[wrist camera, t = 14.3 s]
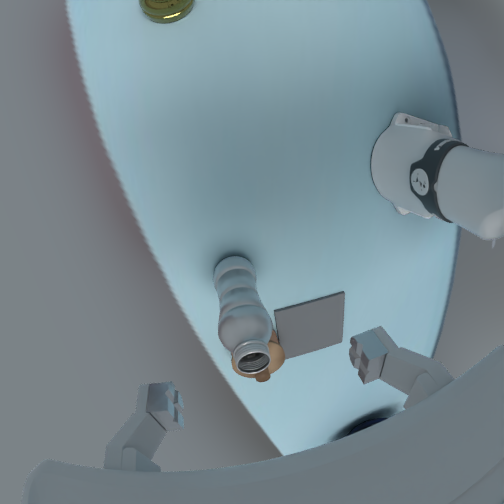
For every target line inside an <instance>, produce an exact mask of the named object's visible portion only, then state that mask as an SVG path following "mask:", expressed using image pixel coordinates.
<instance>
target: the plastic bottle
mask: <svg viewBox="0 0 504 504" xmlns="http://www.w3.org/2000/svg"><path fill="white" fill-rule="evenodd" d="M213 282H214V286H215V289H216V291H217V293H218V297H219V301H220V315H219V323H218V336H219V339H220V341H221V342H222V344H223V346H224V347H225V348H226V349H228V350H229V351H231V352H232V353H233V357H234V360H235V363H236V367H237V369H238V370H239V371H240V372H242V373H245V374H254V373H258V372H261V371H263V370H264V369H266V368H267V367H268V366H269V365H270V362H271V357H270V354H269V347H268V345H267V344H268V342H269V340H270V338H271V335H272V328H273V325H272V320H271V318H270V316H269V314H268V312H267V311H266V309H265V307H264V306H263V304H262V302H261V300H260V298H259V295H258V293H257V287H256V272H255V269H254V267H253V266H252V264H251V263H250V262H249V261H248V260H247V259H245V258H243V257H240V256H231V257H227V258H225V259H223V260H222V261H221V262H220V263H219V264H218V265H217V266H216V268H215V271H214V276H213Z"/></svg>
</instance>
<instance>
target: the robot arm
mask: <svg viewBox="0 0 504 504" xmlns="http://www.w3.org/2000/svg"><path fill="white" fill-rule="evenodd" d="M405 119H406V122H405ZM371 171H372V177H373V181H374V183H375V186H376V188H377V190H378V191H379V193H380V194H381V195H382V196H383V197H384V198H385V199H387V200H388V201H390V202H391V203H392V204H393V205H394V207H395V208H396V210H397V212H398V213H399V214H402V215H406V214H408V213H410V212H411V213H414V214H416V215H419V216H421V217H424V218H426V219H430V217H433V216H435V217H436V218H438V219H440V220H444V221H446V222H449V223H455V224H457V225H459V226H461V227H463V228H464V229H466V230H468V231H470V232H472V233H473V234H475V235H477V236H479V237H480V238H481V239H484V240H494V239H498V238H501V237H502V236H504V154H500V153H494V152H489V151H484V150H479V149H475V148H470V147H469V146H467V145H466V144H464V143H462V142H461V141H460V140H457V139H455V138H453V137H452V134H451V132H450V130H449V128H448V127H447V126H444V125H437V124H435V123H432V122H429V121H426V120H423V119H420V118H417V117H414V116H411V115H408V114H405V113H400V112H397V113H396V114H395V115H394V117H393V119H392V122H391V124H390V126H389V127H388V128H387V129H386V130H385V131H384V132H383V133H382V134H381V135H380V137H379V138H378V140H377V142H376V144H375V146H374V149H373V153H372V159H371ZM350 343H351V345H352V346H351V348H350V349H349V356H350V360H351V363H352V365H353V366H354V368H357V369H359V371H358V375H359V377H360V379H361V380H362V382H363V384H366V383H369V382H371V381H374V380H376V379H379V378H380V379H381V380H383V381H384V382H386V383H388V384H389V385H391V386H393V387H395V388H396V389H398V390H400V391H402V392H403V393H405V394H407V395H409V396H408V398H407V400H406V402H405V404H404V408H405V409H406V410H404V411H402V412H400V413H398V414H396V415H394V416H392V417H390V418H388V419H386V420H384V421H382V422H379V423H377V424H375V425H373V426H371V427H368V428H366V429H364V430H361V431H359V432H356V433H354V434H351V435H349V436H346V437H344V438H341V439H338V440H335V441H333V442H330V443H327V444H324V445H321V446H318V447H315V448H311V449H308V450H305V451H301V452H298V453H294V454H290V455H286V456H282V457H278V458H274V459H269V460H265V461H260V462H255V463H250V464H244V465H238V466H232V467H224V468H215V469H207V470H194V471H177V472H176V471H175V472H161V468H160V467H159V466H158V465H156V464H155V463H154V462H152V461H151V459H152V458H153V456H154V454H155V452H156V451H157V449H158V447H159V445H160V444H161V442H162V440H163V438H164V436H165V435H166V433H167V432H166V431H174V430H183V429H184V425H183V424H184V422H183V416H182V415H181V414H180V413H181V412H182V411H183V401H182V397H181V395H180V393H179V392H178V391H176V390H175V389H174V388H175V386H174V384H173V383H172V382H162V383H151V384H142V385H140V386H139V388H138V396H137V404H136V411H135V414H132V415H131V416H130V418H129V419H128V420H127V421H126V422H125V424H124V425H123V426H122V427H121V428H120V430H119V431H118V432H117V433H116V435H115V436H114V437H113V438H112V440H111V441H110V442H109V443H108V444H107V446H106V452H105V460H104V469H101V468H95V467H87V466H80V465H76V464H70V463H65V462H61V461H56V460H52V459H44V460H43V461H41V462H40V463H39V464H38V465H37V466H36V467H35V468H34V469H33V470H32V471H31V472H30V473H29V474H28V476H27V478H26V481H25V484H24V488H23V494H22V499H21V504H504V345H500V346H498V347H497V348H495V349H494V350H493V351H492V352H491V353H489V354H488V355H487V356H486V357H485V358H483V359H482V360H481V361H480V362H478V363H477V364H476V365H474V366H473V367H472V368H471V369H469V370H468V371H466V372H465V373H464V374H462V375H461V376H459V377H458V378H457V379H454V378H453V377H452V375H451V374H450V373H449V372H448V370H447V369H446V368H445V367H444V365H443V364H442V363H441V362H439V361H436V360H434V359H431V358H428V357H426V356H423V355H421V354H418V353H415V352H413V351H410V350H408V349H405V348H402V347H400V348H398V346H397V345H396V344H395V343H394V341H393V340H392V339H391V337H390V336H389V335H388V334H387V332H386V331H385V330H384V329H383V327H381V326H379V327H377V328H374V329H371V330H368V331H366V332H363V333H361V334H358V335H355V336H353V337H351V340H350Z"/></svg>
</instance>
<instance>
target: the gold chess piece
mask: <svg viewBox="0 0 504 504" xmlns="http://www.w3.org/2000/svg"><path fill="white" fill-rule="evenodd" d="M139 4H140V6H141V8H142V10H143V12H144V13H145V15H146V16H147V17H148V18H149V19H150V20H152V21H154V22H157V23H170V22H174V21H177V20H179V19H181V18H183V17H184V16H186V15H187V14H188V13H189V12H190V11H191V9H192V8H193V5H194V0H139Z"/></svg>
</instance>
